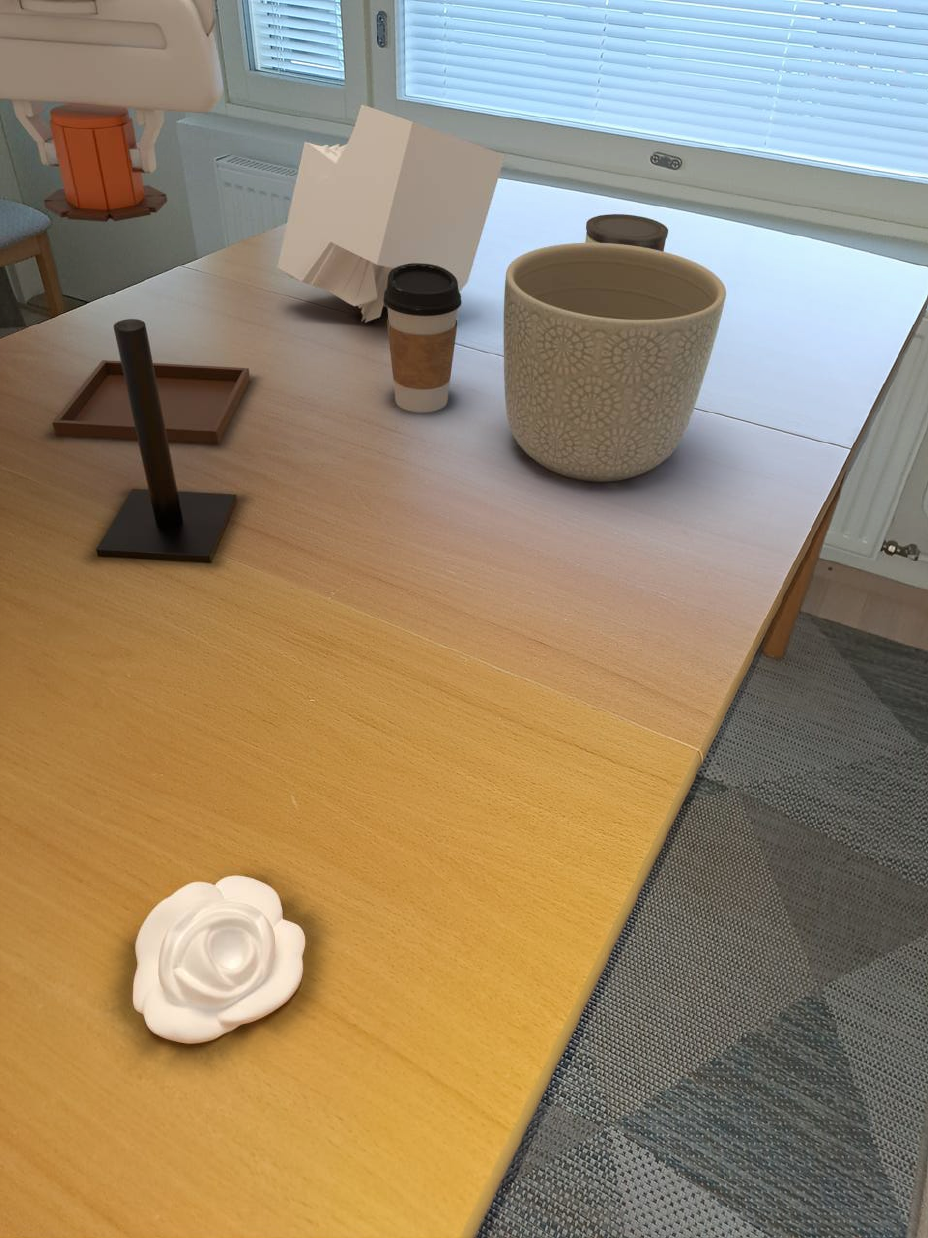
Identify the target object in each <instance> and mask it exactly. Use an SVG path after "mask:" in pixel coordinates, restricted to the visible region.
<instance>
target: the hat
mask: <svg viewBox="0 0 928 1238" xmlns="http://www.w3.org/2000/svg"><path fill="white" fill-rule="evenodd" d="M49 116H50V120H49V128H50V131H51V132H52V136H53V140H54V145H55V149H56V154H57V158H58V163H59V166H58V167H59V172H60V175H61V180H62V185H63V189H62V188H58V189H56V191H54V192H52V193H51V194H49V196H47V197H45V199H44V200H43V201H44V202H43V203H44V207H45V209H47V210H48V211H50V212H52V213H54V214H55V215H57V216H58V217H60V218H67V220H75V221H89V222H90V221H91V222H104V223H106V222H108V221H109V220H110V219H111V220H112V221H114V222H120V221H125V220H129V219H135V218H140V217H145V216H146V217H147V216H151V215H152V213H158V212H159V211H160V209H162V208H163V207H164V205H166V203H168V197H167V194H166V193H164V192H163V191H161V190H159V189H157V188H154V187H153V186H151V185H149V184H146V185H144V181H143V176H142V173H141V172H133V170H132V167H131V160H130V156H129V150H128V148H129V147H131V146H133V144H135V143H137V140H136V133H135V127H134V122H133V119H132V118H131V117H130V110H129V108H122V107H108V106H94V105H80V104H66V103H65V104H62V105H58V106H55V107H53V108H51V109H50V110H49Z"/></svg>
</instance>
